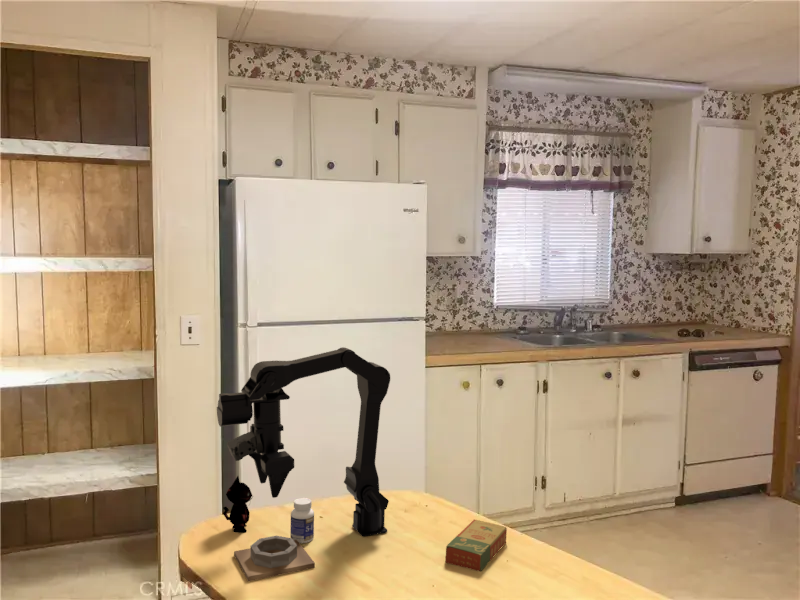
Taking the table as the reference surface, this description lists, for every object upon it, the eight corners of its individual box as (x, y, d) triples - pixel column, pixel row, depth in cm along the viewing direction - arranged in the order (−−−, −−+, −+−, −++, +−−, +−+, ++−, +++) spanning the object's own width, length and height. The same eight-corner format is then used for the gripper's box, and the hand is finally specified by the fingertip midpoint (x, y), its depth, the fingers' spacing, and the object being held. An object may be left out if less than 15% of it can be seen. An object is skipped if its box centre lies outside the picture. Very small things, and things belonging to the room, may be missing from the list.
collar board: (296, 543, 152) (296, 528, 151) (314, 567, 141) (314, 551, 141) (234, 555, 145) (234, 540, 145) (248, 581, 135) (248, 564, 134)
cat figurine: (253, 534, 156) (253, 483, 155) (222, 536, 154) (222, 485, 153) (252, 521, 163) (252, 473, 162) (223, 523, 161) (223, 475, 160)
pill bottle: (309, 545, 151) (309, 506, 150) (287, 542, 152) (287, 504, 151) (316, 535, 156) (317, 497, 155) (295, 532, 157) (295, 495, 157)
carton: (506, 544, 155) (507, 526, 154) (480, 574, 141) (481, 554, 140) (473, 535, 159) (473, 517, 158) (444, 563, 145) (445, 544, 144)
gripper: (220, 414, 151) (222, 482, 153) (240, 437, 134) (242, 512, 136) (268, 408, 156) (270, 474, 158) (294, 429, 140) (295, 502, 141)
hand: (268, 489), depth 148 cm, fingers open, 9 cm apart
